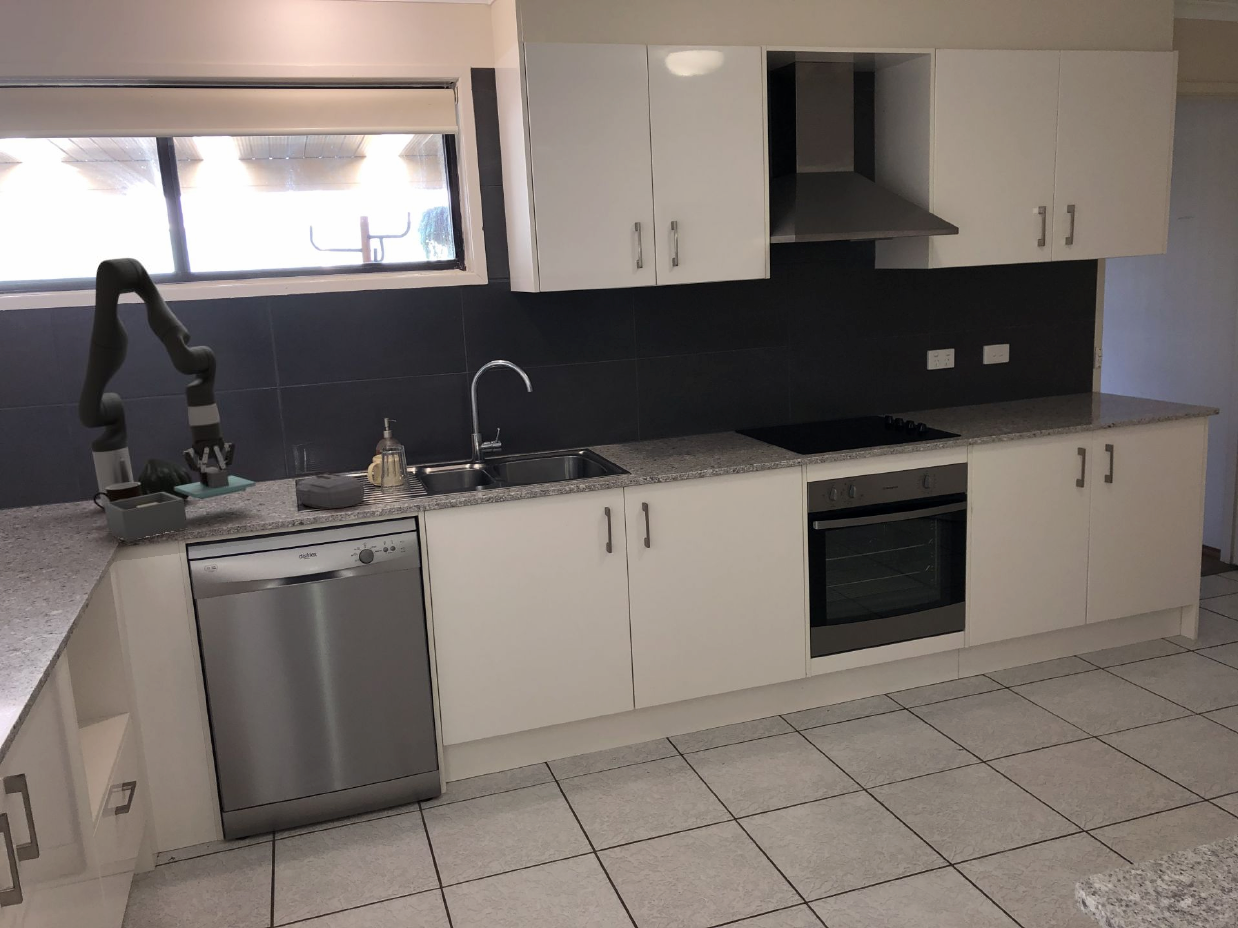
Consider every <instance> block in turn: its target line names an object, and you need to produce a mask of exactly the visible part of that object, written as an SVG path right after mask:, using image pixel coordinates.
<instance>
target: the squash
mask: <svg viewBox="0 0 1238 928" xmlns="http://www.w3.org/2000/svg"><path fill="white" fill-rule="evenodd" d="M137 479H138V480H137V482H139V483H141V496H144V495H149V494H154V493H159V492H166V493H168V494H171V495H174V496H177V497H179V498H182V499H183V500H184V501H186V500H187V499H188V498H189V497H190V496H188V495H186V494H183V493H180V492H177V491H175V490H174V487H177V486H182V485H187V484H192V483H193V478H192V476H191V474H190V472H189V471H188V469H186V467H184V466H182V465H180V464H178V463H176V462H173V461H171V460H166V459H163V458H158V457H157V458H156V457H153V458H149V459H148V461H146V464H145V466H144V467H143V468H142V471H141V472H140V474H139V476H138V478H137Z"/></svg>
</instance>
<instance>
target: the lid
mask: <svg viewBox="0 0 1238 928" xmlns="http://www.w3.org/2000/svg"><path fill="white" fill-rule="evenodd" d="M205 472H206V473H207V480H208V486H204V485H203V484H201V482H200V481H197V482H192V484H187V485H182V486H177V487H174V490H175V491H177V492H180V493H183V494H186V495H188V496H189V497H191V498H194V499H199V500H206V499H210V498H214V497H219V496H224V495H228V494H234V493H237V492H238V493H239V492H242V491H243V492H244V491H247V488H252V487H256V486H257V484H256V481H252V480H249V479H245V478H242V477H238V476H235V475H229V476H228V471H227V470H226V471H225V470H222V469H219V467H216V466H215V467H214V466H211V467H206V470H205ZM198 478H199V480H200V476H199V475H198Z"/></svg>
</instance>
